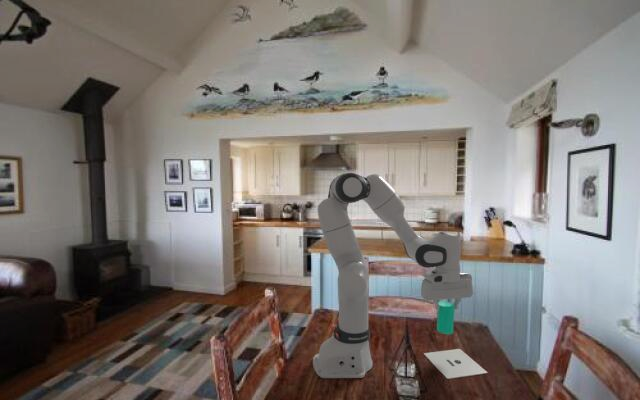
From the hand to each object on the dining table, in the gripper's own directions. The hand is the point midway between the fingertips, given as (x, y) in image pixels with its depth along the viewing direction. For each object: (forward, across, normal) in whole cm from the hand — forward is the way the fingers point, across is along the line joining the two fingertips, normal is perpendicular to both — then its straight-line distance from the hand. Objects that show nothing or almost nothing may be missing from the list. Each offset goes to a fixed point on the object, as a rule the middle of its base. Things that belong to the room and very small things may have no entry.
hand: (446, 309), depth 122 cm
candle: (+9, +1, 0) cm, 9 cm away
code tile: (+19, -1, +5) cm, 20 cm away
